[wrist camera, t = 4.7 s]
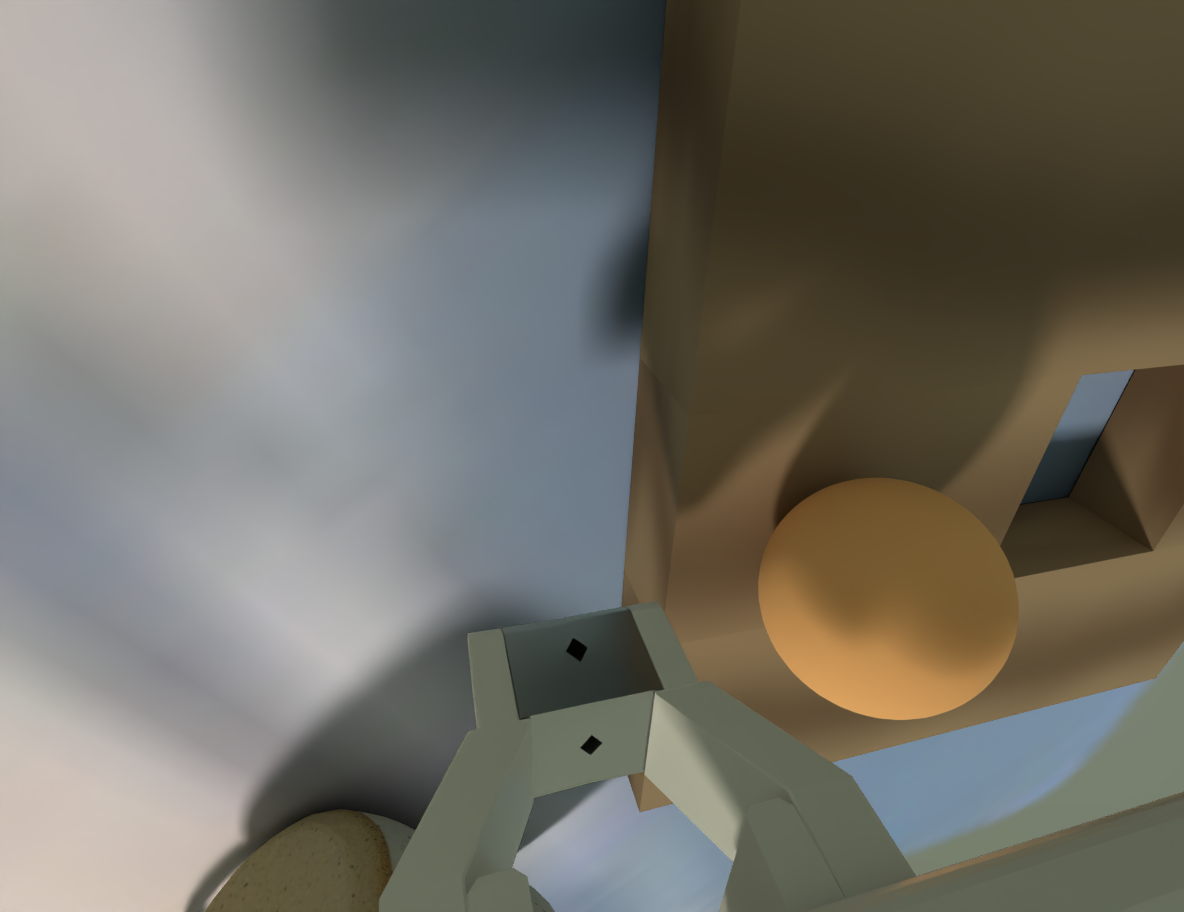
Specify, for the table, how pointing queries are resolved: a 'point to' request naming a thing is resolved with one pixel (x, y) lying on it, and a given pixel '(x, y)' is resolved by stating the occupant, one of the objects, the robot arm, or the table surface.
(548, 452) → the table surface
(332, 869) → the ceramic mug
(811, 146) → the board
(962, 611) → the rubber ball
